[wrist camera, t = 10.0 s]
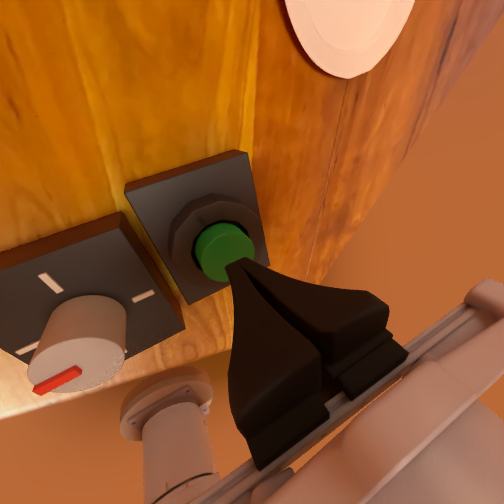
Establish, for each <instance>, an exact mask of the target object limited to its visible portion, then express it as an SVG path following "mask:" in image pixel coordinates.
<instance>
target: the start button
mask: <svg viewBox="0 0 504 504" xmlns="http://www.w3.org/2000/svg"><path fill="white" fill-rule="evenodd" d="M195 253H196V257H197V259H198V261H199V263H200V266H201V268H202V270H203V272H204V273H205V274H206V276H208V277H209V278H210V279H212V280H215V281H219V282H227V281H229V279H228V276H227V274H226V271H225V266H226V265H228V264H230V263H232V262H234V261H236V260H239V259H241V258H243V257H248V258H249V259H251V260H253V259H254V246H253V243H252V241H251V240H250V239H249V238H248V237H247V236H246V235H245V234H244V233H243V232H242V231H241V230H240V229H239V228H238V227H237V226H235V225H233V224H230V223H217V224H214V225H212V226H210V227H208V228H207V229H205V230H204V231H203V232H202V233H201V235H200V236H199V238H198V239H197V242H196V245H195Z"/></svg>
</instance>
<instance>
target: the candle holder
mask: <svg viewBox="0 0 504 504" xmlns="http://www.w3.org/2000/svg"><path fill="white" fill-rule="evenodd" d="M414 2H415V0H285V4H286V7H287V11H288V14H289V17H290V20H291V23H292V26H293V28H294V31H295V33H296V35H297V37H298V39H299V41H300V43H301V45H302V47H303V48H304V50H305V52H306V53H307V54H308V56H309V57H310V58H311V59H312V61H313V62H314V63H315V64H316V65H317V66H319V67H320V68H321V69H322V70H324V71H325V72H327V73H329V74H331V75H334V76H337V77H341V78H346V79H350V78H353V77H355V76H358V75H360V74H363V73H365V72H367V71H370V70H371V69H372V68H373V67H374V66H375V65H376V64H377V63H378V62H379V61H380V60H381V59H382V58H383V56H384V55H385V54H386V53H387V52H388V50H389V49H390V48H391V46H392V45H393V44H394V42H395V40H396V39H397V37H398V36H399V34H400V32H401V30H402V29H403V27H404V25H405V23H406V21H407V18H408V16H409V14H410V12H411V9H412V7H413V4H414Z"/></svg>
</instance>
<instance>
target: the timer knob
mask: <svg viewBox="0 0 504 504" xmlns="http://www.w3.org/2000/svg"><path fill="white" fill-rule="evenodd" d="M125 341H126V311H125V309H124V307H123V306H122V305H121V304H120V303H119V302H117V301H116V300H114V299H112V298H109V297H105V296H100V295H86V296H80V297H76V298H73V299H70V300H68V301H66V302H64V303H62V304H61V305H59V306H58V307H57V308H56V309H55V310H54V311H53V312H52V314H51V316H50V318H49V320H48V323H47V325H46V327H45V330H44V332H43V334H42V336H41V339H40V341H39V343H38V346H37V348H36V350H35V353H34V355H33V357H32V359H31V362H30V364H29V366H28V371H27V373H28V378H29V380H30V381H31V383H32V384H33V385H34V388H33V391H32V392H34V393H36V394H38V395H40V396H42V395H44V394H46V393H47V392H49V391H50V392H57V393H67V392H76V391H81V390H85V389H89V388H92V387H95V386H97V385H99V384H101V383H103V382H105V381H107V380H109V379H110V378H111V377H113V376H114V375H115V374H116V373H117V372H118V371H119V370H120V368H121V367H122V365H123V363H124V360H125Z"/></svg>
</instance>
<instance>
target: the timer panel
mask: <svg viewBox="0 0 504 504" xmlns="http://www.w3.org/2000/svg"><path fill="white" fill-rule="evenodd" d="M86 295H100V296H105V297H109V298H112V299H114V300H116V301H117V302H119V303H120V304H121V305H122V306H123V307H124V309H125V311H126V341H125V360H126V359H128V358H130V357H132V356H134V355H136V354H138V353H140V352H142V351H144V350H146V349H148V348H150V347H152V346H153V345H155V344H157V343H159V342H161V341H163V340H165V339H167V338H169V337H171V336H173V335H175V334H177V333H179V332H181V331H183V330H184V329H186V328H185V324H184V320H183V316H182V312H181V308H180V305H179V303H178V302H177V300H176V298H175V297H174V295H173V294H172V292H171V290H170V289H169V287H168V286H167V284H166V282H165V281H164V279H163V277H162V276H161V274H160V273H159V271H158V269H157V268H156V266H155V264H154V263H153V261H152V260H151V258H150V256H149V255H148V253H147V252H146V250H145V248H144V247H143V245H142V243H141V242H140V240H139V239H138V237H137V235H136V234H135V232H134V231H133V229H132V227H131V226H130V224H129V222H128V221H127V219H126V218H125V216H124V214H123V213H122V211H120V212H117V213H114V214H111V215H108V216H106V217H103V218H100V219H97V220H94V221H91V222H88V223H85V224H83V225H80V226H77V227H74V228H71V229H68V230H65V231H62V232H59V233H57V234H54V235H51V236H48V237H45V238H42V239H39V240H36V241H33V242H31V243H28V244H25V245H22V246H19V247H16V248H13V249H10V250H7V251H5V252H2V253H0V348H1V349H2V350H4V351H6V352H8V353H9V354H11V355H13V356H14V357H16V358H18V359H19V360H21V361H23V362H24V363H26V364H28V365H29V364H30V362H31V359H32V357H33V355H34V353H35V350H36V348H37V346H38V343H39V341H40V339H41V336H42V334H43V332H44V330H45V327H46V325H47V323H48V320H49V318H50V316H51V314H52V312H53V311H54V310H55V309H56V308H57V307H58V306H59V305H61V304H62V303H64V302H66V301H68V300H70V299H73V298H76V297H80V296H86Z"/></svg>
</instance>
